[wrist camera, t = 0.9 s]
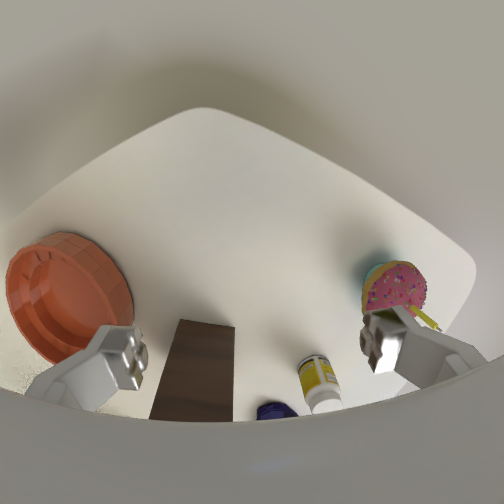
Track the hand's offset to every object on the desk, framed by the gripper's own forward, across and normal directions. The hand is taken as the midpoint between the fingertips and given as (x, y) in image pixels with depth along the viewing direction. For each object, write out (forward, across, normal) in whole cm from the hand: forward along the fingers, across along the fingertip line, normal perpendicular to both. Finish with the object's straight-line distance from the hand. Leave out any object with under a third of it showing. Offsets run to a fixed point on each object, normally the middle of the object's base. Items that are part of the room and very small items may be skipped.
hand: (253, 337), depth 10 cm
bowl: (+22, +24, +10) cm, 34 cm away
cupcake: (+22, -17, +10) cm, 29 cm away
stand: (+22, +6, +18) cm, 29 cm away
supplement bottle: (+22, -9, +23) cm, 33 cm away
